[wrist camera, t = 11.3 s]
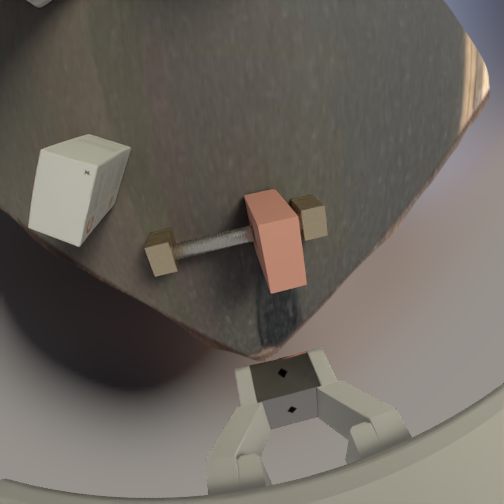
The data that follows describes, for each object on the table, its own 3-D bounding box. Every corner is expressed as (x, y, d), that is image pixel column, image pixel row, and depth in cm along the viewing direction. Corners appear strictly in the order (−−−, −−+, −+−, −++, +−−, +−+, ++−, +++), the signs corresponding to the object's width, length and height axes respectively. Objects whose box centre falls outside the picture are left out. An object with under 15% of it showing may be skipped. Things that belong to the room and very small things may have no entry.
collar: (255, 251, 42) (271, 293, 33) (243, 195, 39) (257, 225, 29) (283, 244, 43) (306, 284, 33) (274, 188, 39) (298, 216, 30)
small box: (88, 133, 32) (39, 147, 21) (132, 146, 34) (99, 165, 23) (73, 192, 35) (26, 229, 24) (114, 206, 37) (80, 248, 26)
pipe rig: (159, 259, 41) (155, 276, 37) (150, 232, 40) (144, 248, 35) (315, 221, 42) (327, 235, 38) (311, 194, 41) (324, 205, 36)
